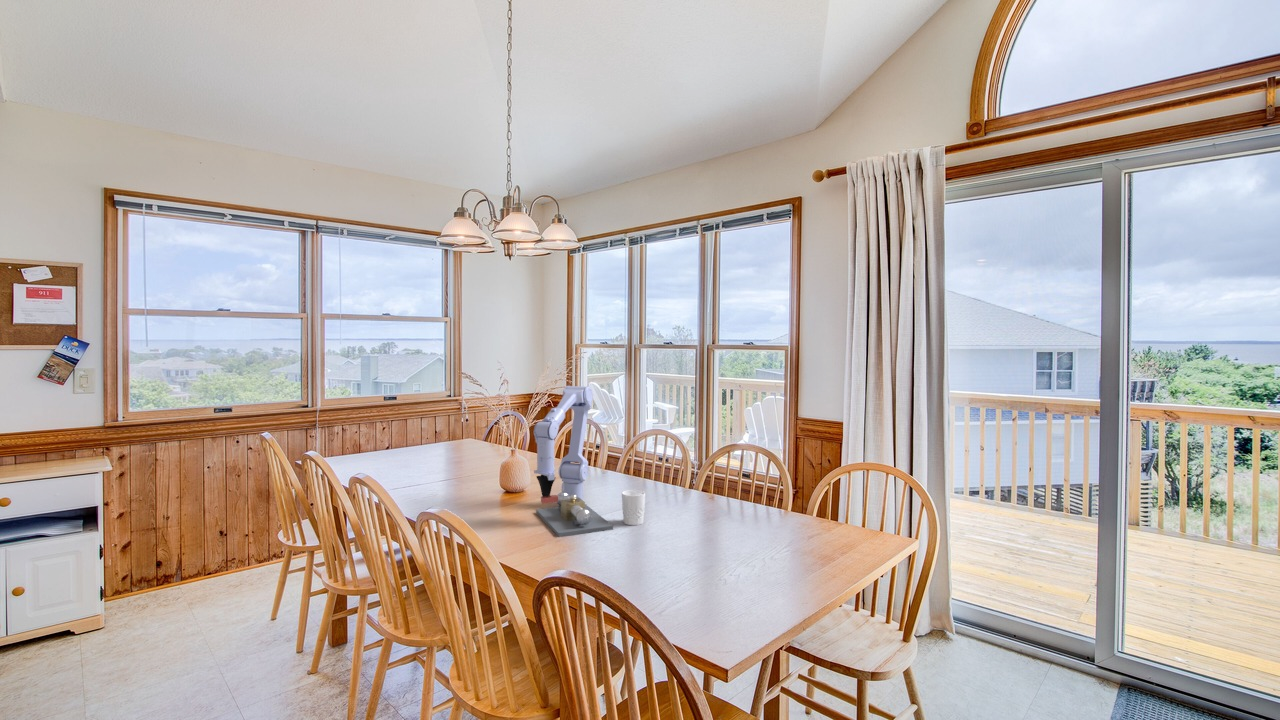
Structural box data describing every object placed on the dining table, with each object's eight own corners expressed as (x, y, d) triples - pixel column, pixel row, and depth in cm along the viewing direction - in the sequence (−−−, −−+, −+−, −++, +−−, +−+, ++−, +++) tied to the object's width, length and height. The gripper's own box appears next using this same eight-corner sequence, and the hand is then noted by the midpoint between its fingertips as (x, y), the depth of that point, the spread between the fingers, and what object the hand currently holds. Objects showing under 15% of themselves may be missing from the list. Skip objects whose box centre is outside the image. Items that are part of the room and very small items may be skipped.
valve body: (553, 508, 204) (553, 492, 204) (570, 506, 207) (570, 490, 207) (574, 529, 182) (574, 510, 182) (594, 526, 185) (594, 507, 184)
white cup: (645, 526, 189) (645, 495, 189) (621, 526, 189) (621, 495, 189) (645, 519, 197) (645, 489, 196) (622, 518, 197) (622, 489, 197)
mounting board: (536, 512, 204) (536, 509, 204) (584, 506, 211) (584, 503, 211) (558, 537, 178) (558, 533, 178) (612, 529, 186) (612, 525, 185)
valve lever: (575, 497, 196) (575, 492, 196) (577, 499, 194) (577, 494, 194) (540, 501, 191) (540, 496, 191) (542, 503, 189) (542, 498, 189)
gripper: (529, 454, 200) (529, 493, 200) (539, 462, 187) (539, 503, 187) (548, 452, 203) (549, 491, 203) (560, 460, 189) (560, 501, 190)
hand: (545, 497), depth 195 cm, fingers closed
